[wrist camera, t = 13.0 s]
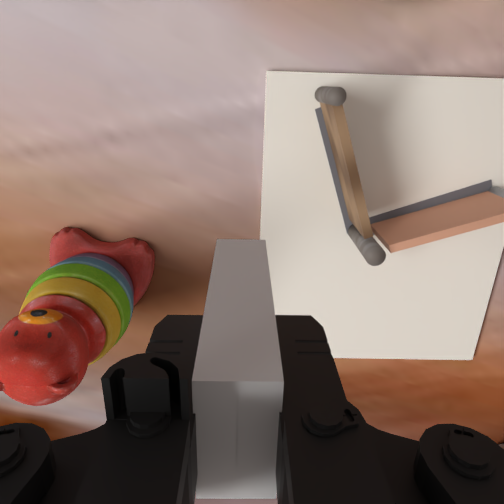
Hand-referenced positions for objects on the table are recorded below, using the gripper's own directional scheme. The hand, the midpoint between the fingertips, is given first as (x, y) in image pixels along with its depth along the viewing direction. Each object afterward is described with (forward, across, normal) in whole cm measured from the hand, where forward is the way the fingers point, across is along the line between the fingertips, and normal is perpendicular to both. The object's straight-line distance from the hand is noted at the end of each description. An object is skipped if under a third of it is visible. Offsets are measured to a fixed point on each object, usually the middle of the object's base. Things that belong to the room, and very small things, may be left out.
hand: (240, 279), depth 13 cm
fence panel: (+28, +20, -6) cm, 35 cm away
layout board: (+29, +15, -9) cm, 34 cm away
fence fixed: (+29, +10, -2) cm, 30 cm away
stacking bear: (+30, -15, -14) cm, 36 cm away
